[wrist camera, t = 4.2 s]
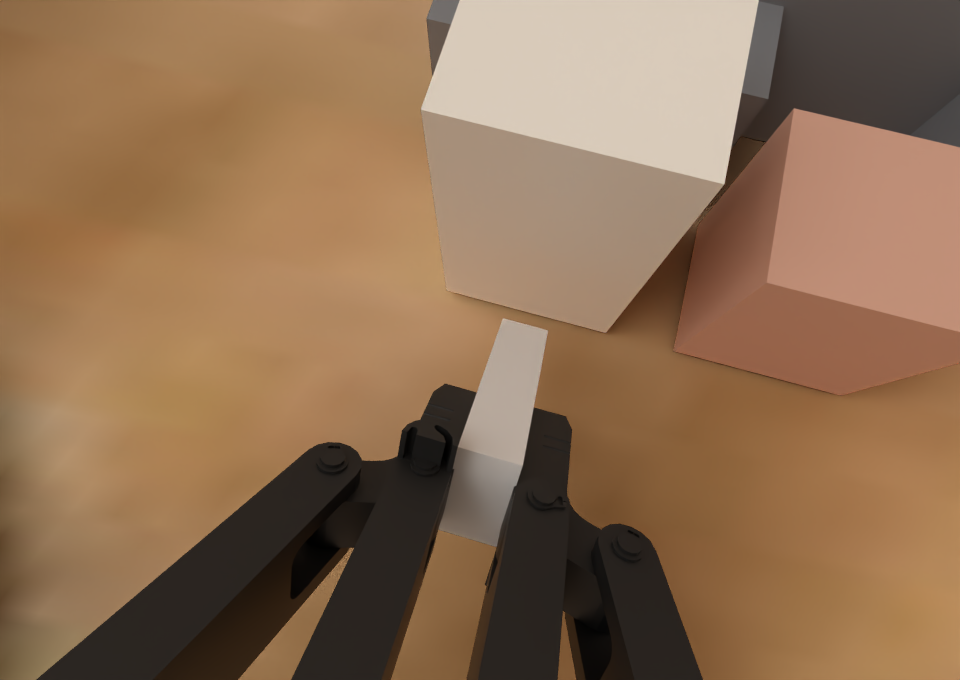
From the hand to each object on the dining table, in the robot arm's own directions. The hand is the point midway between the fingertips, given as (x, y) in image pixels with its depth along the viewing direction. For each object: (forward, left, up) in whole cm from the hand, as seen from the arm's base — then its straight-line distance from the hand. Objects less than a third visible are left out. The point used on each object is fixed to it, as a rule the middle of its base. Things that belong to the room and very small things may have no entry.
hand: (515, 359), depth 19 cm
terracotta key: (+10, +6, -5) cm, 13 cm away
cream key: (0, +6, -5) cm, 8 cm away
